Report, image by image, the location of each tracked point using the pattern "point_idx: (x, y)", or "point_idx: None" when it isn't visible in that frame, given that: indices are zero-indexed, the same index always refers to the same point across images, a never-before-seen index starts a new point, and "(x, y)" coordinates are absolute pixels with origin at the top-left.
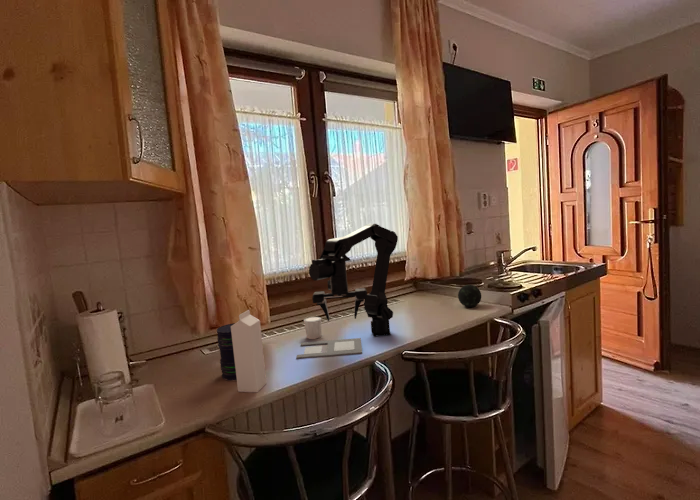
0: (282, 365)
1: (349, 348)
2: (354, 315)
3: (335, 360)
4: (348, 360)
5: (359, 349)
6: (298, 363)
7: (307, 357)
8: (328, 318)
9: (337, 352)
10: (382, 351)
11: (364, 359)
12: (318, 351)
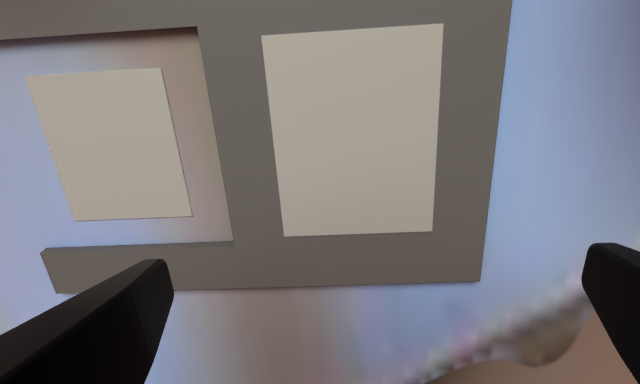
0: None
1: (395, 206)
2: (617, 350)
3: (310, 340)
4: (385, 351)
5: (467, 231)
6: None
7: None
8: (151, 340)
9: (311, 259)
10: None
11: (477, 352)
12: (166, 190)
